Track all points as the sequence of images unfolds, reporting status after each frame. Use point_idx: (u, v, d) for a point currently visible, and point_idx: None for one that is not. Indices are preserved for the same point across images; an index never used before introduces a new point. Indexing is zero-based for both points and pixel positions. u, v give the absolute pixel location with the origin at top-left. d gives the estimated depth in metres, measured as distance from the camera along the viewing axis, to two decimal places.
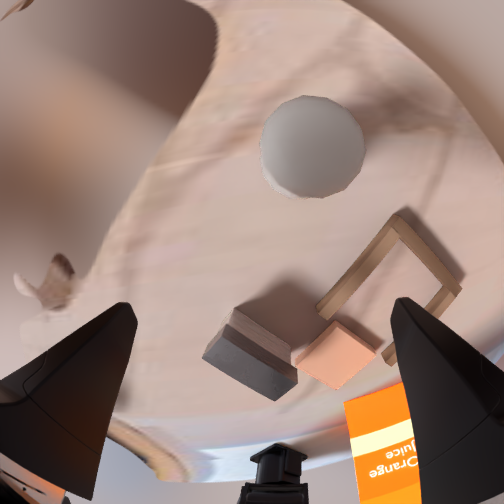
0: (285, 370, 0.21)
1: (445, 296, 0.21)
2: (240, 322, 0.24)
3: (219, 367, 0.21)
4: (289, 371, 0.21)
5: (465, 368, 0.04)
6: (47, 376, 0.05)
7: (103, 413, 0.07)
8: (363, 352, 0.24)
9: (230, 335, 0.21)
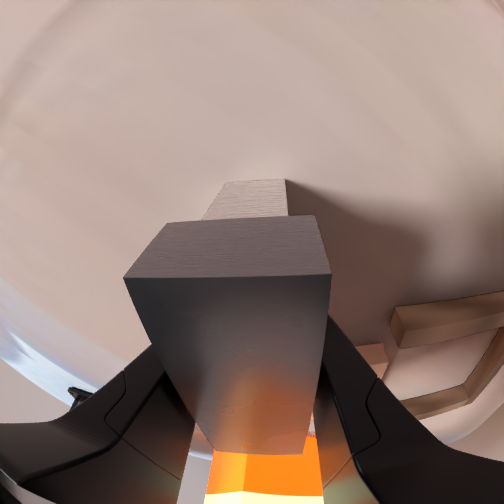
0: None
1: (462, 399, 0.14)
2: None
3: (164, 349, 0.05)
4: None
5: (344, 392, 0.04)
6: (134, 404, 0.04)
7: (184, 433, 0.06)
8: None
9: None
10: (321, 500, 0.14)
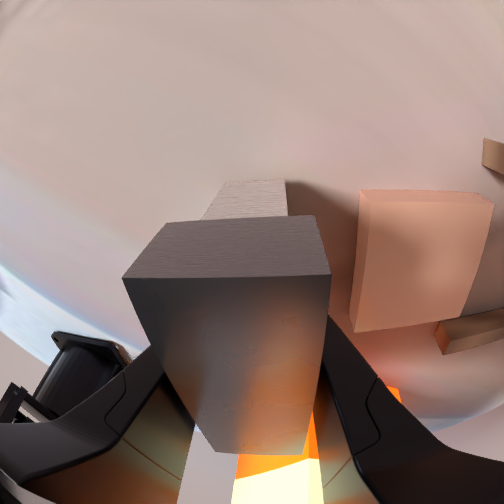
0: None
1: None
2: None
3: (163, 350, 0.05)
4: None
5: (344, 392, 0.04)
6: (134, 404, 0.04)
7: (184, 433, 0.06)
8: (461, 293, 0.10)
9: None
10: None
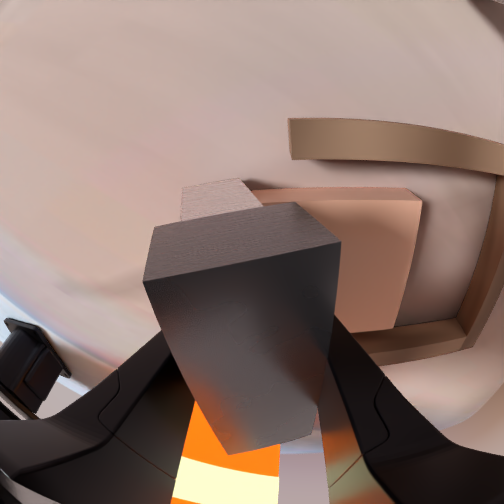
0: None
1: (456, 336, 0.11)
2: None
3: (184, 353, 0.04)
4: None
5: (353, 391, 0.04)
6: (128, 402, 0.05)
7: (178, 432, 0.06)
8: (390, 303, 0.10)
9: None
10: (253, 479, 0.11)
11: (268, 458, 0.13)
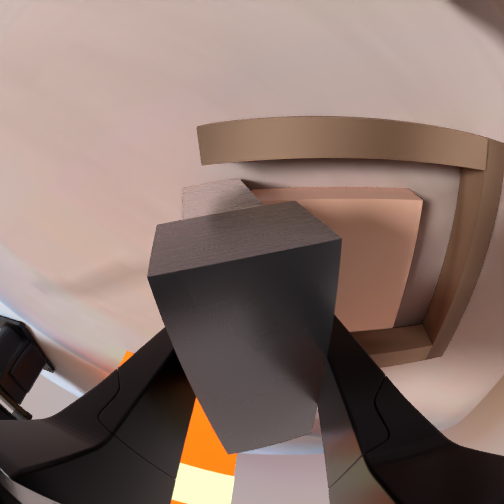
0: None
1: (420, 345, 0.11)
2: None
3: (187, 350, 0.04)
4: None
5: (353, 391, 0.04)
6: (128, 402, 0.05)
7: (178, 432, 0.06)
8: (390, 302, 0.10)
9: None
10: (207, 476, 0.11)
11: (224, 457, 0.13)
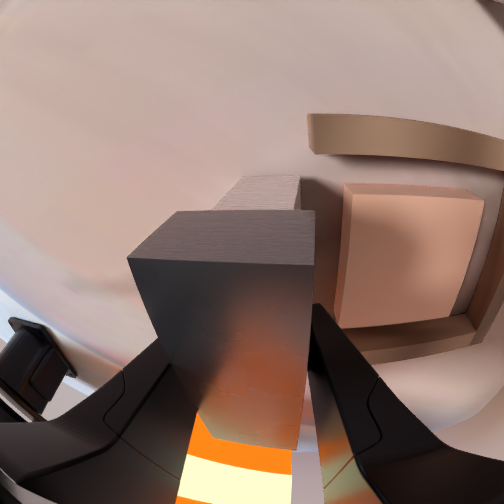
0: None
1: (467, 332, 0.11)
2: None
3: (162, 328, 0.05)
4: None
5: (346, 392, 0.04)
6: (134, 404, 0.04)
7: (183, 433, 0.06)
8: (450, 292, 0.10)
9: None
10: (266, 478, 0.11)
11: (281, 456, 0.12)
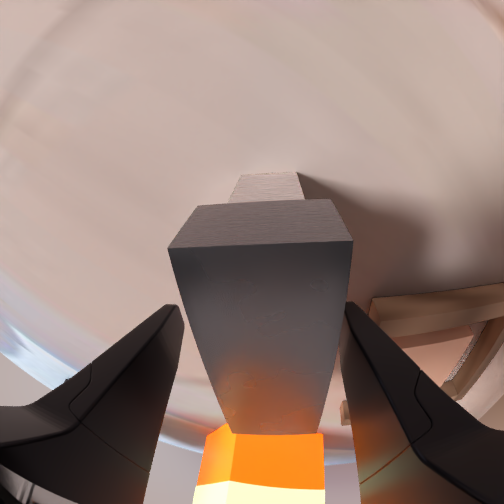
0: None
1: (450, 395, 0.14)
2: None
3: (198, 320, 0.05)
4: None
5: (394, 385, 0.04)
6: (97, 394, 0.05)
7: (152, 427, 0.06)
8: (440, 380, 0.13)
9: None
10: (309, 493, 0.14)
11: (317, 477, 0.16)
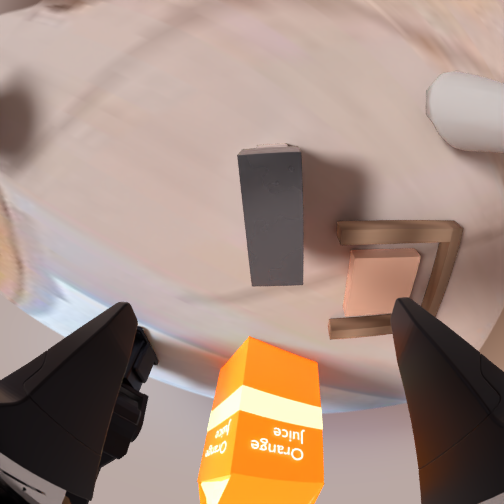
0: None
1: None
2: None
3: (245, 187, 0.13)
4: None
5: (465, 368, 0.04)
6: (47, 376, 0.05)
7: (103, 413, 0.07)
8: None
9: None
10: (308, 407, 0.22)
11: (314, 396, 0.24)
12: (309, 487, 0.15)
